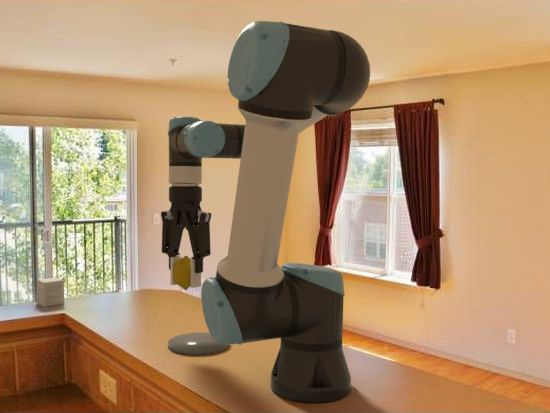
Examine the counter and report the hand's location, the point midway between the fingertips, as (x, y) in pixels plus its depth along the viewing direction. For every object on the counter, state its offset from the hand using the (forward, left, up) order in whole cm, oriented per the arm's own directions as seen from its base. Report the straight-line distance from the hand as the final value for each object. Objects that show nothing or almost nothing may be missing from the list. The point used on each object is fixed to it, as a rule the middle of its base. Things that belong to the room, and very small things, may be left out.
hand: (185, 285), depth 130 cm
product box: (+60, -5, -14) cm, 62 cm away
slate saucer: (-3, -2, -14) cm, 14 cm away
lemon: (0, 0, -1) cm, 1 cm away
